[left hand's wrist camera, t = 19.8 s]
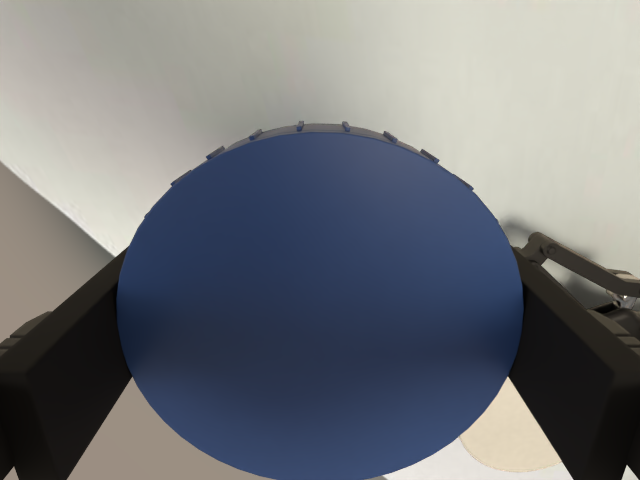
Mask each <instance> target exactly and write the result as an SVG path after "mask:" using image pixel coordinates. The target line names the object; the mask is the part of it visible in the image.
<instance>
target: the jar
mask: <svg viewBox="0 0 640 480" xmlns="http://www.w3.org/2000/svg"><path fill="white" fill-rule="evenodd" d="M458 438H459V439H460V440H461V442H462V444H463V446H464V447H465V449H466V450H467V451H468V453H469V454H470V455H471V456H472V457H473V458H475V459H476V460H477V461H479V462H480V463H482V464H484V465H486V466H488V467H491V468H494V469H497V470H501V471H508V472H529V471H536V470H540V469H544V468H548V467H551V466H554V465H556V464H558V463H560V462H562V461H561V459H560V457H559V456H558V454H557V453H556V451H555V450H554V448H553V446H552V445H551V443H550V442H549V440H548V439H547V437H546V436H545V434H544V432H543V431H542V429H541V428H540V426H539V425H538V423H537V421H536V420H535V418H534V417H533V415H532V414H531V412H530V410H529V409H528V407H527V406H526V404H525V403H524V401H523V399H522V398H521V396H520V395H519V393H518V392H517V390H516V388H515V387H514V385H513V384H512V382H511V381H510V379H509V377H507V379H506V380H505V382H504V384H503V386H502V388H501V389H500V391H499V393H498V395H497V396H496V397H495V399H494V400H493V401H492V403H491V404H490V405H489V407H488V408H487V409H486V411H485V412H484V413H483V414H482V415H481V416H480V417H479V418H478V419H477V420H476V421H475V422H474V423H473V424H472V425H471V427H470V428H469V429H467V430H466V431H465V432H464V433H462V434H461V435H460V436H459V437H458Z"/></svg>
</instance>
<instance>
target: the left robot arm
mask: <svg viewBox="0 0 640 480" xmlns="http://www.w3.org/2000/svg"><path fill="white" fill-rule="evenodd" d="M510 246H511V245H510ZM128 247H129V246H128ZM128 247H127V248H126V249H125V250H124V251H122V252H121V253H120V254H119V255H118V256H117V257H115V258H114V259H113V260H112V261H111V262H110V263H108V264H107V265H106V266H105V267H104V268H103V269H102V270H100V271H99V272H98V273H97V274H96V275H95V276H93V277H92V278H91V279H90V280H89V281H88V282H86V283H85V284H84V285H83V286H82V287H81V288H79V289H78V290H77V291H76V292H75V293H74V294H72V295H71V296H70V297H69V298H68V299H67V300H65V301H64V302H63V303H62V304H61V305H60V306H58V307H57V308H56V309H55V310H54V311H53V312H46V313H44V314H42V315H40V316H38V317H36V318H34V319H32V320H30V321H28V322H26V323H25V324H24V325H22V326H21V327H20V328H19V329H17V330H16V331H15V332H14V333H13V334H11V335H10V338H7V339H5V340H4V341H3V342H2V343H0V480H3V479H4V478H5V477H6V475H7V474H8V473H9V472H10V470H11V469H12V468H13V467H15V470H16V473H17V476H18V478H19V480H67V478H68V477H69V475H70V474H71V472H72V470H73V469H74V467H75V466H76V464H77V463H78V461H79V459H80V458H81V456H82V455H83V453H84V452H85V450H86V448H87V447H88V445H89V444H90V442H91V441H92V439H93V437H94V436H95V434H96V433H97V431H98V430H99V428H100V427H101V425H102V423H103V422H104V420H105V419H106V417H107V415H108V414H109V412H110V411H111V409H112V408H113V406H114V404H115V403H116V401H117V400H118V398H119V397H120V395H121V394H122V392H123V390H124V389H125V387H126V386H127V384H128V383H129V381H130V379H131V378H132V374H131V372H130V370H129V368H128V366H127V363H126V360H125V357H124V354H123V350H122V346H121V341H120V336H119V331H118V326H117V311H116V297H117V290H118V283H119V276H120V272H121V268H122V265H123V262H124V259H125V255H126V252H127V250H128ZM511 249H512V251H513V253H514V256H515V258H516V261H517V265H518V269H519V274H520V278H521V282H522V290H523V304H524V313H523V325H522V333H521V338H520V343H519V347H518V351H517V355H516V357H515V360H514V362H513V365H512V367H511V370H510V373H509V375H508V377H509V379H510V381H511V382H512V384H513V385H514V387H515V388H516V390H517V392H518V393H519V395H520V396H521V398H522V399H523V401H524V403H525V404H526V406H527V407H528V409H529V410H530V412H531V414H532V415H533V417H534V418H535V420H536V421H537V423H538V425H539V426H540V428H541V429H542V431H543V432H544V434H545V436H546V437H547V439H548V440H549V442H550V443H551V445H552V446H553V448H554V450H555V451H556V453H557V454H558V456H559V457H560V459H561V461H562V462H563V464H564V465H565V467H566V468H567V470H568V472H569V473H570V475H571V476H572V478H573V479H574V480H621V479H622V477H623V474H624V471H625V468H626V465H628V467H629V468H630V469H631V470H632V472H633V473H634V474H635V475H636V477H637V478H638V479H639V480H640V341H639V340H638V339H636V338H635V337H631V334H630V333H629V332H628V331H626V330H625V329H624V328H623V327H621V326H620V325H619V324H618V323H617V322H615V321H614V320H612V319H610V318H608V317H606V316H604V315H602V314H600V313H598V312H596V311H594V310H585V309H584V308H583V307H582V306H581V305H580V304H578V303H577V302H576V301H575V300H574V299H573V298H571V297H570V296H569V295H568V294H567V293H566V292H564V291H563V290H562V289H561V288H560V287H559V286H557V285H556V284H555V283H554V282H553V281H552V280H550V279H549V278H548V277H547V276H546V275H545V274H543V273H542V272H541V271H540V270H539V269H538V268H536V267H535V266H534V265H533V264H532V263H531V262H529V261H528V260H527V259H526V258H525V257H524V256H522V255H521V254H520V253H519V252H518V251H517V250H515V249H514V248H513V247H512V246H511Z"/></svg>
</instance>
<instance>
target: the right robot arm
mask: <svg viewBox="0 0 640 480" xmlns="http://www.w3.org/2000/svg"><path fill="white" fill-rule="evenodd" d="M528 242H529V243H528V244H527V245H526V246H525V247H524V248H522V249H521V248H519V247H513V248H514V249H515V250H517V251H518V252H519V253H520V254H521V255H522V256H524V257H525V258H526V259H527V260H528V261H529V262H531V263H532V264H533V265H534V266H535V267H536V268H538V269H539V270H540V271H541V272H542V273H543V274H545V275H546V276H547V277H548V278H549V279H550V280H552V281H553V282H554V283H555V284H556V285H557V286H559V287H560V288H561V289H562V290H563V291H564V292H566V293H567V294H568V295H569V296H570V297H571V298H573V299H574V300H575V301H576V302H577V303H578V304H580V303H579V302H578V301H577V300H576V299H575V298H574V297H573V296H572V295H571V294H570V293H569V292H568V291H567V290H566V289H565V288H564V287H563V286H562V285H561V284H559V283H558V282H557V281H556V280H555V279H554V278H553V277H552V276H551V275H550V274H549V273H548V272H547V271H546V270H545V269H544V268H543V267H542V266H541V265H542V264H543V263H544V261H545V260H546V259H547V258H549V259H551V260H553V261H555V262H557V263H558V264H560V265H562V266H564V267H566V268H568V269H570V270H571V271H573V272H575V273H577V274H579V275H581V276H583V277H585V278H586V279H588V280H590V281H592V282H594V283H596V284H598V285H600V286H601V287H603V288H605V289H606V293H607V294H608V295H610V296H611V297H612V298H614V301H612V302H608V303H605V304H602V305H599V306H595V307H592V308H589V309H585V308H584V307H583V306H582V305H581V304H580V305H581V306H582V307H583V308H584V309H585V310H594V311H596V312H598V313H600V314H602V315H604V316H606V317H608V318H610V319H612V320H614V321H615V322H617V323H618V324H619V325H620V326H621V327H623V328H624V329H625V330H626V331H628V332H629V333H630V334H631V337H635V338H636V339H638V340H639V341H640V312H638V311H633V310H632V308H633V306H634V304H635V301H636V299H637V298H640V279H638V278H637V277H635V276H633V275H632V274H630V273H629V272H626V271H620V270H612V269H606V268H604V267H602V266H600V265H598V264H597V263H595V262H593V261H591V260H589V259H587V258H586V257H584V256H582V255H580V254H578V253H576V252H575V251H573V250H571V249H569V248H567V247H565V246H564V245H562V244H560V243H558V242H556V241H554V240H553V239H551V238H549V237H547V236H545V235H543V234H542V233H539V232H535V233H532V234H531V235H530V236H529V238H528Z"/></svg>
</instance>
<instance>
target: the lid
mask: <svg viewBox="0 0 640 480" xmlns="http://www.w3.org/2000/svg"><path fill="white" fill-rule="evenodd" d="M206 158H207V159H208V160H206V161H205V162H203V163H202V164H201V165H199V166H198V167H196V168H195V169H193V170H192V171H191V170H189V171H188V172H187V173H185V174H184V175H182V176H181V177H179V178H178V179H176V180H175V181H173V182H172V183H171V185H172V187H171V188H170V189H169V190H168V191H167V192H166V193H165V194H164V195H163V196H162V197H161V198H160V199H159V201H158V202H157V203H156V204H155V205H154V206H153V207H152V209H151V210H150V211H149V212H148V213H147V214H146V215H145V217H144V218H145V219H144V220H143V221H142V223H141V224H140V226H139V227H138V229H137V231H136V233H135V235H134V237H133V239H132V241H131V243H130V245H129V247H128V250H127V252H126V255H125V259H124V262H123V265H122V268H121V272H120V276H119V283H118V290H117V297H116V311H117V326H118V331H119V336H120V341H121V346H122V350H123V354H124V357H125V360H126V363H127V366H128V368H129V370H130V372H131V374H132V376H133V378H134V380H135V382H136V384H137V386H138V388H139V389H140V391H141V392H142V394H143V395H144V397H145V398H146V400H147V401H148V403H149V404H150V406H151V407H152V408H153V409H154V410H155V411H156V413H157V414H158V415H159V416H160V417H161V418H162V420H163V421H164V422H165V423H166V424H168V425H169V426H170V427H171V428H172V429H173V430H174V431H175V432H176V433H177V434H179V435H180V436H181V437H182V438H184V439H185V440H186V441H188V442H189V443H191V444H192V445H193V446H195V447H196V448H198V449H199V450H201V451H202V452H204V453H206V454H208V455H210V456H211V457H213V458H215V459H217V460H219V461H221V462H223V463H225V464H228V465H230V466H232V467H235V468H237V469H240V470H243V471H246V472H249V473H252V474H255V475H258V476H262V477H267V478H272V479H276V480H364V479H369V478H374V477H378V476H381V475H385V474H389V473H392V472H395V471H397V470H400V469H403V468H405V467H408V466H410V465H413V464H415V463H417V462H419V461H421V460H423V459H425V458H427V457H429V456H431V455H433V454H434V453H436V452H438V451H439V450H441V449H442V448H444V447H445V446H447V445H448V444H450V443H451V442H453V441H454V440H455V439H456V438H458V437H459V436H460V435H461V434H462V433H464V432H465V431H466V430H467V429H469V428H470V427H471V425H472V424H473V423H474V422H475V421H476V420H477V419H478V418H479V417H480V416H481V415H482V414H483V413H484V412H485V411H486V409H487V408H488V407H489V405H490V404H491V403H492V401H493V400H494V399H495V397H496V396H497V395H498V393H499V391H500V389H501V388H502V386H503V384H504V382H505V380H506V379H507V377H508V375H509V373H510V370H511V367H512V365H513V362H514V360H515V357H516V355H517V351H518V347H519V343H520V338H521V333H522V325H523V313H524V304H523V290H522V282H521V278H520V274H519V269H518V265H517V261H516V258H515V256H514V253H513V251H512V249H511V246H510V244H509V241H508V239H507V237H506V235H505V233H504V232H503V230H502V228H501V227H500V225H499V222H498V220H497V219H496V218H495V217H494V215H493V214H492V213H491V212H490V210H489V209H488V208H487V207H486V206H485V204H484V203H483V202H482V201H481V200H480V198H479V197H478V196H477V195H476V194H475V193H474V192H473V191H472V190H473V189H474V188H473V187H472V186H470V185H469V184H468V183H466V182H465V181H463V180H462V179H460V178H459V177H457V176H456V175H454V174H452V173H450V172H449V171H448V170H446V169H445V168H443V167H442V166H440V165H439V164H437V163H438V162H439V159H437V158H435V157H434V156H432V155H431V154H429V153H428V152H426V151H425V150H423V149H422V150H421V151H420V152H419V151H418V150H416V149H415V148H413V147H411V146H409V145H407V144H405V143H403V142H401V141H399V140H398V139H397V138H395V137H394V136H393V135H391V134H390V133H388V132H386V131H384V133H383V134H380V133H377V132H374V131H371V130H368V129H364V128H358V127H352V126H349V125H348V123H347V122H342V125H340V124H304V121H299V123H298V125H294V126H286V127H281V128H277V129H273V130H269V131H265V132H262V129H260V130H257V131H256V132H255V133H253V134H252V135H251V136H249V137H248V138H246V139H243V140H241V141H238V142H236V143H234V144H233V145H231V146H229V147H227V148H226V149H225V148H224V147H223V146H222V147H220V148H218V149H217V150H215V151H214V152H212V153H211V154H209V155H208V156H206Z"/></svg>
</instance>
